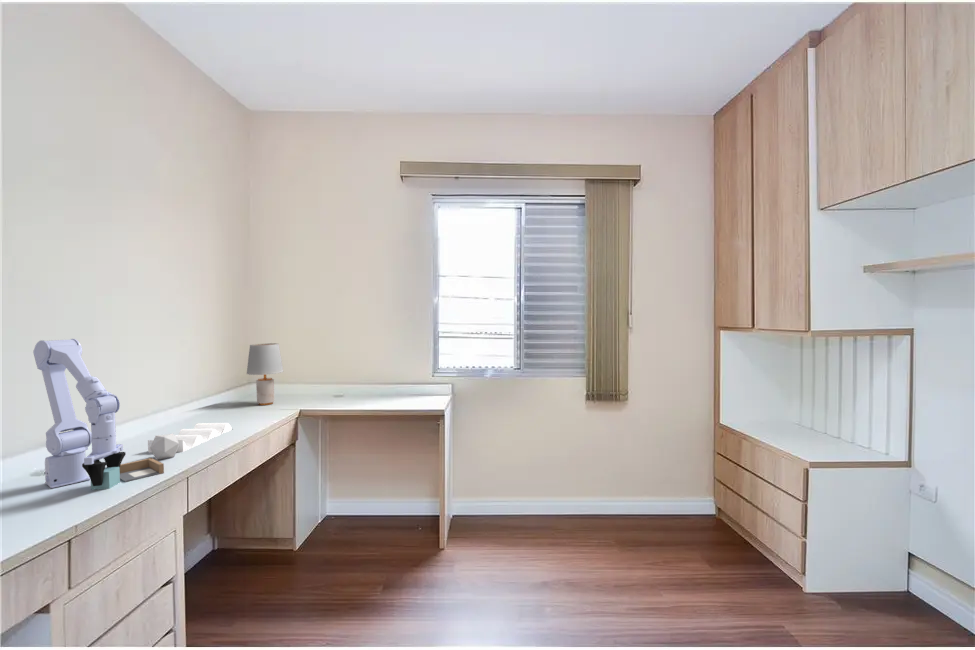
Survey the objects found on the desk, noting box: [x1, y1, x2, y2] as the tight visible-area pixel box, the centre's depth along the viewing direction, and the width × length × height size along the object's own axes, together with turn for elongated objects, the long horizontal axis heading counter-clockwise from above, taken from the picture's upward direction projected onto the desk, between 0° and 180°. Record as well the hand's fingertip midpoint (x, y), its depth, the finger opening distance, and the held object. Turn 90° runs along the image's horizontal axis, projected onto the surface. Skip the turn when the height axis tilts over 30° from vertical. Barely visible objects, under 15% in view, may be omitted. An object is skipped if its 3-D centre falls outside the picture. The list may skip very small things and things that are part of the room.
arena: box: [120, 457, 165, 483], centre depth 156 cm, size 10×11×3 cm
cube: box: [90, 466, 121, 490], centre depth 146 cm, size 5×5×5 cm
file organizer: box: [147, 422, 234, 453], centre depth 199 cm, size 13×35×5 cm, turn 179°
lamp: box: [246, 342, 284, 406], centre depth 276 cm, size 19×19×34 cm
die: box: [150, 433, 179, 461], centre depth 175 cm, size 8×9×10 cm
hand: (105, 481), depth 146 cm, fingers open, 7 cm apart
